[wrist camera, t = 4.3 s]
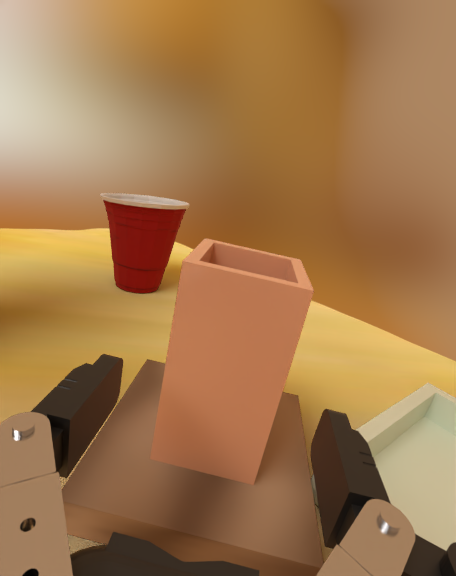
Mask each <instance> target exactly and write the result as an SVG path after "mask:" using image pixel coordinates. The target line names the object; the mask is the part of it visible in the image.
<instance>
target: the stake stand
mask: <svg viewBox="0 0 456 576" xmlns="http://www.w3.org/2000/svg"><path fill="white" fill-rule="evenodd" d="M165 365H166V364H164V363H160V362H156V361H152V360H148V359H147V361H146V362H145V364H144V365H143V367H142V368H141V370H140V371H139V373H138V374H137V376H136V377H135V379H134V380H133V382H132V383H131V385H130V387H129V388H128V390H127V391H126V393H125V394H124V396H123V397H122V399H121V400H120V402H119V403H118V405H117V406H116V408H115V409H114V411H113V413H112V414H111V416H110V417H109V419H108V420H107V422H106V423H105V425H104V426H103V428H102V429H101V431H100V432H99V434H98V435H97V437H96V439H95V440H94V442H93V443H92V445H91V446H90V448H89V449H88V451H87V452H86V454H85V455H84V457H83V458H82V460H81V461H80V463H79V464H78V466H77V468H76V469H75V471H74V472H73V474H72V475H71V477H70V478H69V480H68V481H67V483H66V484H65V486H64V487H63V489H62V498H63V505H64V513H65V520H66V528H67V534H69V535H73V536H77V537H81V538H85V539H88V540H92V541H96V542H100V543H104V544H107V545H108V542H109V540H110V538H111V535H112V533H113V532H117V533H120V534H124V535H128V536H132V537H135V538H139V539H143V540H147V541H149V542H151V543H153V544H154V545H156V546H158V547H159V548H161V549H163V550H164V551H166V552H168V553H169V554H171V555H172V556H174V557H176V558H177V559H179V560H181V561H184V562H201V561H226V562H230V563H233V564H237V565H241V566H245V567H248V568H252V569H256V570H259V576H316V575H317V574H318V572H319V571H320V569H321V568H322V566H323V557H322V551H321V544H320V538H319V531H318V524H317V518H316V511H315V504H314V498H313V491H312V485H311V478H310V471H309V465H308V458H307V452H306V445H305V438H304V432H303V425H302V419H301V412H300V405H299V399H298V396H297V395H293V394H289V393H285V392H282V395H281V398H280V402H279V405H278V408H277V411H276V415H275V418H274V421H273V424H272V427H271V431H270V434H269V437H268V440H267V444H266V447H265V450H264V453H263V456H262V460H261V463H260V466H259V469H258V473H257V476H256V479H255V482H254V485H251V484H247V483H243V482H239V481H235V480H231V479H227V478H223V477H219V476H215V475H211V474H207V473H203V472H199V471H195V470H191V469H187V468H183V467H179V466H175V465H171V464H167V463H163V462H159V461H156V460H152V459H150V455H151V449H152V443H153V437H154V431H155V425H156V419H157V413H158V407H159V401H160V395H161V389H162V383H163V377H164V371H165Z"/></svg>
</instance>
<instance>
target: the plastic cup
mask: <svg viewBox="0 0 456 576" xmlns="http://www.w3.org/2000/svg"><path fill="white" fill-rule="evenodd" d="M100 196H101V199H103V201H104V203H105V206H106V211H107V215H108V220H109V227H110V238H111V249H112V259H113V263H114V277H115V281H116V285H117V286H118V287H119V288H121V289H123V290H126V291H129V292H134V293H150V292H154V291H156V290H157V289H158V287H159V285H160V284H161V280H162V277H163V274H164V271H165V268H166V266H167V264H168V261H169V257H170V254H171V251H172V248H173V245H174V241H175V238H176V235H177V232H178V229H179V227H180V224H181V220H182V219H183V215H184V213H185V211H186V209H187V208H188V207H189V204H188V203H186V202H182V201H178V200H173V199H167V198H161V197H153V196H143V195H135V194H120V193H103V194H100Z"/></svg>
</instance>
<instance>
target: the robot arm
mask: <svg viewBox="0 0 456 576" xmlns="http://www.w3.org/2000/svg"><path fill="white" fill-rule="evenodd" d="M122 368H123V359H122V358H118V357H114V356H110V355H106V354H103V355H101V356H100V358H99V359H98V360H97V361H96V362H95V363H94V364H93V365H91V364H87V363H86V364H84V365H81V366H79V367H77V368H75V369H73V370H72V371H71V372H70V373H69V374H68V375H67V376H66V377H65V379H64V380H62V381H61V382H60V383H59V384H58V386H57V387H55V388H54V389H53V390H52V391H51V392H50V393H49V394H48V395H47V396H46V397H45V398H44V399H43V400H42V401H41V402H40V403H39V404H38V405H37V406H36V407H35V408H34V409H33V410H32V411H31V412H25V413H20V414H17V415H14V416H11V417H9V418H8V419H6V420H5V421H3V422H2V423H1V424H0V576H259V570H256V569H252V568H248V567H245V566H241V565H237V564H233V563H230V562H226V561H201V562H184V561H181V560H179V559H177V558H176V557H174V556H172V555H171V554H169V553H168V552H166V551H164V550H163V549H161V548H159V547H158V546H156V545H154V544H153V543H151V542H149V541H147V540H143V539H139V538H135V537H132V536H128V535H124V534H120V533H117V532H113V533H112V535H111V538H110V540H109V542H108V545H99V546H93V547H89V548H85V549H82V550H80V551H77V552H75V553H72V554H71V555H70V550H69V543H68V535H67V528H66V520H65V513H64V505H63V498H62V490H61V483H60V476H61V477H65V478H67V477H68V476H69V474H70V473H71V471H72V470H73V468H74V467H75V465H76V464H77V462H78V461H79V459H80V458H81V456H82V455H83V453H84V452H85V450H86V449H87V447H88V446H89V444H90V443H91V441H92V440H93V438H94V437H95V435H96V434H97V432H98V431H99V429H100V428H101V426H102V425H103V423H104V422H105V420H106V419H107V417H108V416H109V414H110V413H111V411H112V410H113V408H114V406H115V404H116V402H117V400H118V397H119V393H120V385H121V377H122ZM311 461H312V467H313V473H314V480H315V486H316V492H317V499H318V505H319V511H320V517H321V524H322V530H323V536H324V543H325V547H329V548H333V551H332V552H331V554H330V555H329V557H328V558H327V560H326V561H325V563H324V564H323V566H322V568H321V569H320V571H319V572H318V574H317V575H316V576H456V542H454V543H452V544H450V546H449V547H448V549H447V550H444V549H442V548H440V547H438V546H436V545H434V544H433V543H431V542H429V541H427V540H425V539H423V538H422V537H420V536H418V535H417V534H415V532H414V529H413V527H412V525H411V523H410V521H409V520H408V519H407V517H406V516H405V515H404V514H403V513H402V512H401V511H400V510H399V509H398V508H396V507H395V506H393V505H392V504H391V503H390V500H389V497H388V495H387V492H386V489H385V487H384V484H383V482H382V479H381V476H380V474H379V471H378V469H377V467H376V463H375V461H374V458H373V457H372V453H371V450H370V448H369V445H368V443H367V441H366V440H365V439H364V438H363V436H362V435H361V434H360V433H359V431H356V430H352V429H351V426H350V423H349V420H348V417H347V415H346V414H345V413H340V412H336V411H332V410H328V409H325V410H324V411H323V413H322V416H321V419H320V421H319V424H318V427H317V430H316V432H315V435H314V438H313V441H312V445H311Z"/></svg>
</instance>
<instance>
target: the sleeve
mask: <svg viewBox="0 0 456 576" xmlns="http://www.w3.org/2000/svg"><path fill="white" fill-rule="evenodd" d="M313 292H314V290H313V288H312V285H311V283H310V281H309V279H308V276H307V274H306V272H305V269H304V267H303V265H302V263H301V260H299V259H295V258H290V257H286V256H281V255H277V254H273V253H268V252H263V251H259V250H254V249H250V248H246V247H241V246H237V245H233V244H228V243H224V242H220V241H215V240H211V239H204V240H203V241H202V242H201V243H200V244H199V245H198V246H197V247H196V248H195V249H194V250H193V251H192V252H191V253H190V254H189V255H188V256H187V257H186V258H185V259H184V260H183V262H182V268H181V274H180V280H179V286H178V292H177V298H176V304H175V310H174V316H173V322H172V328H171V334H170V340H169V346H168V352H167V359H166V365H165V371H164V377H163V383H162V389H161V395H160V401H159V407H158V413H157V419H156V425H155V431H154V437H153V443H152V449H151V455H150V459H152V460H156V461H159V462H163V463H167V464H171V465H175V466H179V467H183V468H187V469H191V470H195V471H199V472H203V473H207V474H211V475H215V476H219V477H223V478H227V479H231V480H235V481H239V482H243V483H247V484H251V485H254V482H255V479H256V476H257V473H258V469H259V466H260V463H261V460H262V456H263V453H264V450H265V447H266V444H267V440H268V437H269V434H270V431H271V427H272V424H273V421H274V418H275V415H276V411H277V408H278V405H279V402H280V398H281V395H282V392H283V389H284V386H285V382H286V379H287V376H288V373H289V369H290V366H291V363H292V360H293V357H294V353H295V350H296V347H297V344H298V340H299V337H300V334H301V331H302V328H303V324H304V321H305V318H306V315H307V311H308V308H309V305H310V302H311V299H312V295H313Z"/></svg>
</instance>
